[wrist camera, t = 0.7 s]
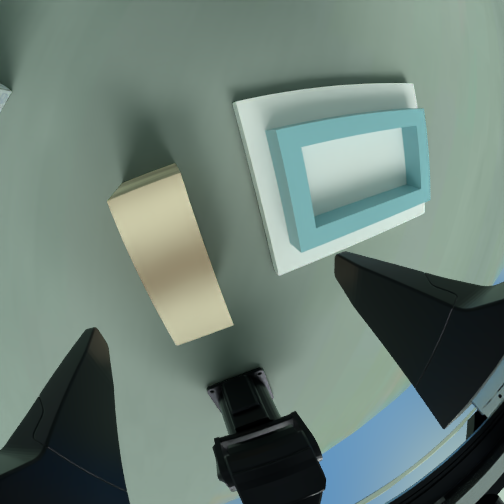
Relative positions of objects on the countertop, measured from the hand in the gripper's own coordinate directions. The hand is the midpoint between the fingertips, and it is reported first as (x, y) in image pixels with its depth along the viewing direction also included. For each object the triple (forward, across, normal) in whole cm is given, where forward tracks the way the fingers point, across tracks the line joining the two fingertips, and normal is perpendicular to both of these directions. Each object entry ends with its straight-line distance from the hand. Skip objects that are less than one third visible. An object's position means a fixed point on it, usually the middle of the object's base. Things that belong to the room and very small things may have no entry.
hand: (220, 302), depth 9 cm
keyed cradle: (+12, -14, 0) cm, 19 cm away
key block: (+12, +2, +2) cm, 12 cm away
